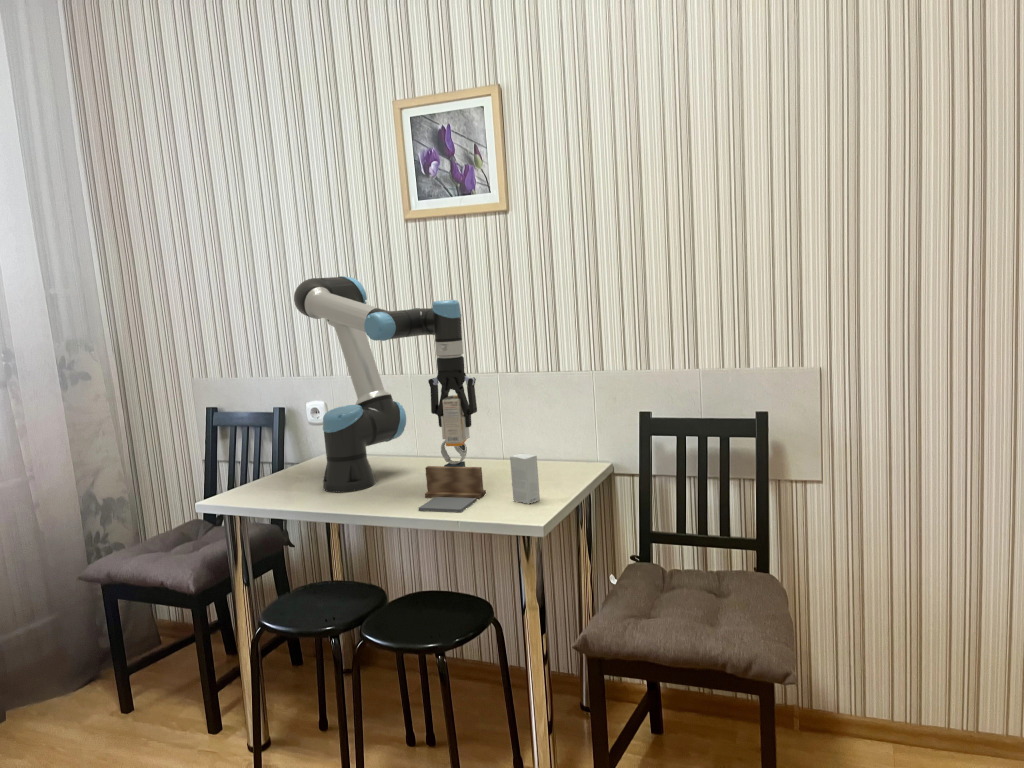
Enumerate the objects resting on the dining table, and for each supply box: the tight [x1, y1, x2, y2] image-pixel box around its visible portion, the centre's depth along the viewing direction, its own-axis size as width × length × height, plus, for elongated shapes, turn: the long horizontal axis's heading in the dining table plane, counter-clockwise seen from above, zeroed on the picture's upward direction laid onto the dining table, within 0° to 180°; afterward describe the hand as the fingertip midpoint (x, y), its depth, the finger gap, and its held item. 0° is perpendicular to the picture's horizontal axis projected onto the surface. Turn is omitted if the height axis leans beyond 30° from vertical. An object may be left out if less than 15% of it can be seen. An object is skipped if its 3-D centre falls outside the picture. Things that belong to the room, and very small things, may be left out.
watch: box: [440, 439, 468, 467], centre depth 234 cm, size 6×8×11 cm
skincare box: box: [509, 453, 541, 505], centre depth 198 cm, size 6×4×12 cm
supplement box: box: [442, 394, 467, 447], centre depth 214 cm, size 8×5×13 cm, turn 173°
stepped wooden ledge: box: [424, 465, 487, 500], centre depth 208 cm, size 16×5×8 cm, turn 70°
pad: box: [418, 497, 478, 513], centre depth 199 cm, size 12×10×1 cm
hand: (456, 438), depth 215 cm, fingers closed on supplement box, 6 cm apart
